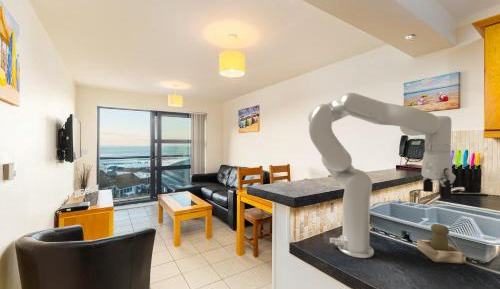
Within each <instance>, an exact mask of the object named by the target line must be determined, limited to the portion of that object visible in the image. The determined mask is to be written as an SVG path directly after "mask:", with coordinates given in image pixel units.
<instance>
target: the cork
mask: <svg viewBox="0 0 500 289" xmlns="http://www.w3.org/2000/svg"><path fill="white" fill-rule="evenodd" d="M430 231H431V232H432V235H431V244H430V247H432V248H433V249H435V250H438V251H449V246H448V243H449V242H448V241H449V240H448V235H449V233H450V229H449V227H448V226H446V225H444V224H440V223H432V224H431V226H430Z"/></svg>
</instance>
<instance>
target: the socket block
mask: <svg viewBox="0 0 500 289" xmlns="http://www.w3.org/2000/svg"><path fill="white" fill-rule="evenodd" d="M416 244H417V245H416V246H417V247H416V248H417V250H419V251H420V252H421V253H422V254H424V255H425V256H426V257H428V258H429V259H430V260H431V261H433V262H434V263H435V262H437V263H447V264H449V263H452V264H463V263H467V254H466V253H465V252H464V251H462V250H460V249H459V248H458V247H455V246H454V245H453V244H450V243H449V242H448V246H449V251H438V250H435V249H433V248H432V247H430V244H431V240H430V239H417V240H416Z"/></svg>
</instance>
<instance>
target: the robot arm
mask: <svg viewBox="0 0 500 289" xmlns="http://www.w3.org/2000/svg"><path fill="white" fill-rule="evenodd" d="M348 116H351V117H354V118H356V119H360V120H363V121H365V122H368V123H372V124H374V125H380V126H381V125H382V126H394V127H395V126H396V127H399V129H400V131H401V133H403V134H404V135H406V136H414V137H416V136H424V153H423V155H422V156H423V157H422V163H421V164H422V165H421V169H420V171H421V177H422V184H423V185H422V191H423V192H424V193H425V192H427V193H432V192H434V189H433V188H434V181H438V182H439V183H440V185H439V198H442V199H443V198H444V199H450V198H452V188H453V186H454V185H453V184H454V183H455V180H456V177H457V176H456V175H455V174H454V173H453V171H452V170H453V168H452V167H453V166H452V156H451V151H452V150H451V149H452V118H451V117H450V116H449V115H437V116H436V115H435V114H433V113H431V112H428V111H425V110H422V109H419V108H415V107H412V106H411V107H410V106H406V105H400V104H394V103H388V102H383V101H380V100H377V99H374V98H371V97H369V96H366V95H365V96H364V95H361V94H359V93H355V92H346V93H344V94H342V95H341V96H340V97H338V98H336V99H334V100H332V101H329V102H327V103H321V104H318V105H316V106H315V107H313V109H312V110H310V112H309V113H308V123H309V124H308V132H309V137H310V140H311V141H312V143H313V145H314V146H315V148H316V150H317V151H318V152H319V154H320V155H321V162H322V164H323V166H324V167H325V168H326V170H327V171H328V173H329V174H330V175H331V177H332V178H333V179H334V180H335V182H336V183H337V184H338V185H339V186H340V187H341V188H342V189H344V190H343V191H344V192H343V197H342V234H340V236H338V237H329V243H330V244H334V245H335V246H337V248H338V249H339V251H340V252H342V253H344V254H345V255H347V256H350V257H353V258H357V259H367V258H371V257H373V256H374V254H375V250H374V248H373V247H371V245H370V206H371V204H370V203H371V195H372V190H373V182H372V178H371V177H370V175H369V174H368V173H366V172H365V171H363V170H361V169H357V168H355V167H354V165H352V163H353V161H352V160H353V159H352V156H351V154H350V153H349V152H348V150H347V149H346V148H345V147H344V145H343V144H342V143H341V142H340V140H339V139H338V138H337V136H336V135H335V133H334V131H333V126H332V125H333V123H334V122H337V121H339V120H341V119H344V118H345V117H348Z"/></svg>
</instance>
